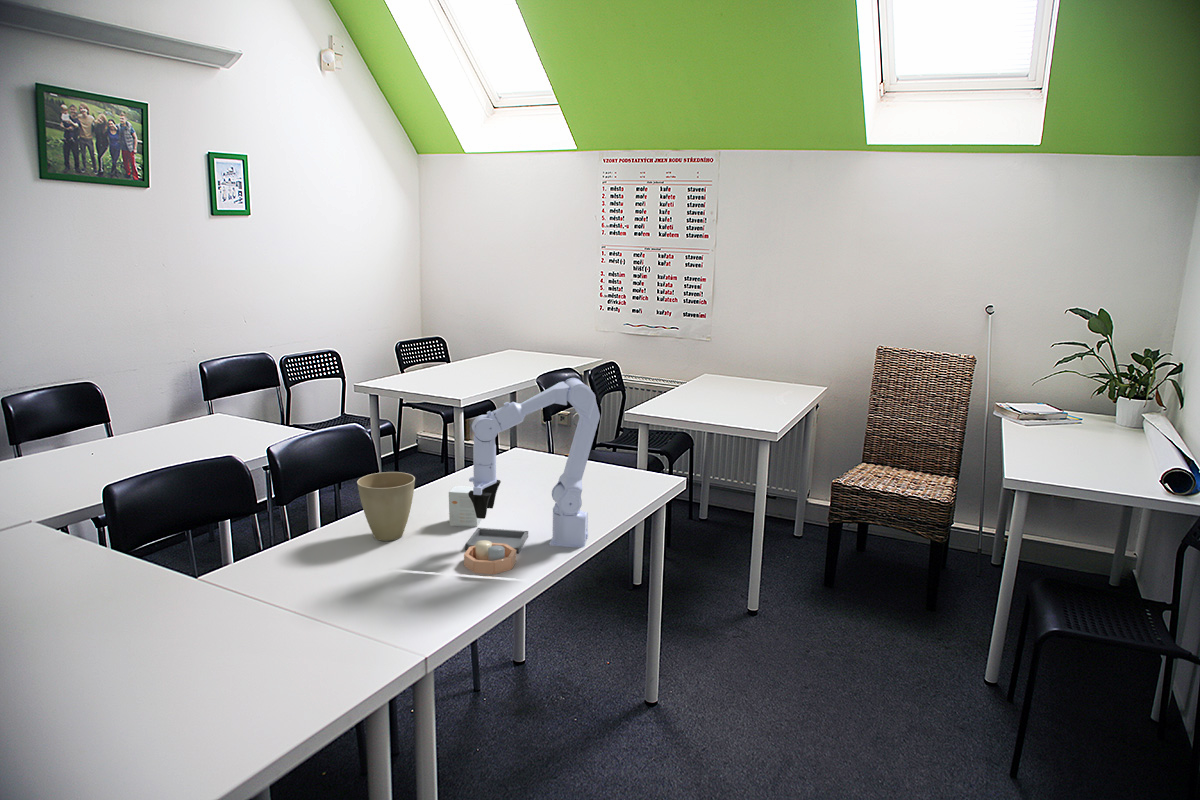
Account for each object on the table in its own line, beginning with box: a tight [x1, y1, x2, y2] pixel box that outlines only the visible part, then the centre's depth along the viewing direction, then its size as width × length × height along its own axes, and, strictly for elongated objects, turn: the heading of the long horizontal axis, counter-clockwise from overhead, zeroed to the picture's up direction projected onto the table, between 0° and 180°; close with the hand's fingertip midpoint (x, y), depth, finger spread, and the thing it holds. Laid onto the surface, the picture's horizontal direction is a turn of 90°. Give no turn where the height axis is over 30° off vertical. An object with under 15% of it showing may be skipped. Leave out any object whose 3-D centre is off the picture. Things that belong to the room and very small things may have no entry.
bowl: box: [463, 543, 517, 577], centre depth 193 cm, size 12×12×4 cm
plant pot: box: [356, 471, 416, 542], centre depth 209 cm, size 15×15×16 cm
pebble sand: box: [475, 540, 492, 561], centre depth 194 cm, size 4×4×4 cm
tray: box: [464, 527, 529, 555], centre depth 206 cm, size 14×12×2 cm
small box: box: [448, 485, 482, 528], centre depth 219 cm, size 8×6×10 cm
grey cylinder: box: [488, 545, 505, 561], centre depth 191 cm, size 4×4×4 cm
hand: (485, 512), depth 202 cm, fingers open, 7 cm apart
